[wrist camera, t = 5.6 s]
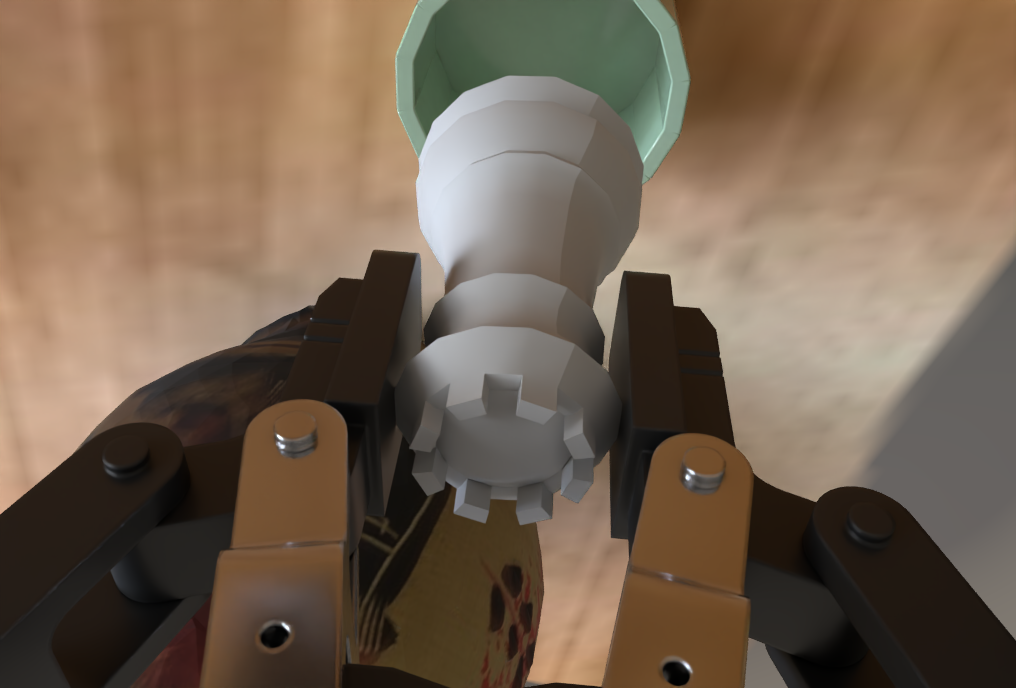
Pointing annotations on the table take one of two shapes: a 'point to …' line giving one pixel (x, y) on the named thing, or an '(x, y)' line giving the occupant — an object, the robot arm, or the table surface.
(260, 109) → the table surface
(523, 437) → the rook chess piece
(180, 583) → the robot arm
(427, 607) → the ceramic jug
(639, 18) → the cup
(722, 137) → the table surface
